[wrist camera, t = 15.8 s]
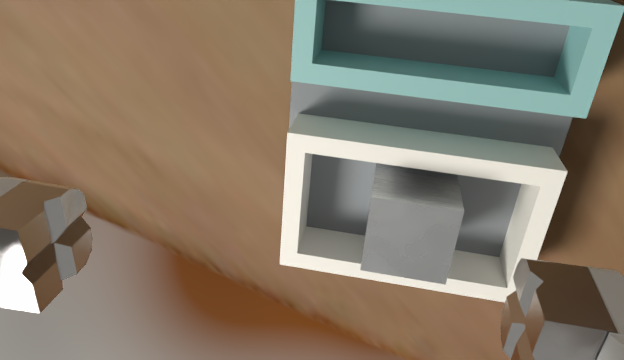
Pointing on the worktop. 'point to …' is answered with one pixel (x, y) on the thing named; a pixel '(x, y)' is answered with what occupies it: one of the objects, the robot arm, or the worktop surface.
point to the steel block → (412, 223)
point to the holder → (437, 122)
